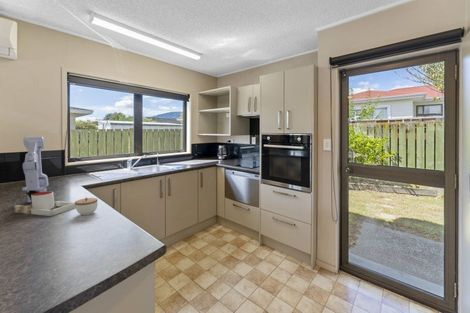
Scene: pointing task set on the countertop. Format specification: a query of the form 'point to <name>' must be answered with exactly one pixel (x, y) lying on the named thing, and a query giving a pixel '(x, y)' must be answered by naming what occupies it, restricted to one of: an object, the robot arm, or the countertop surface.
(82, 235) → the countertop surface
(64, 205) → the dock
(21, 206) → the bay
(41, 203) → the cup
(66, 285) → the countertop surface
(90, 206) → the lidded jar
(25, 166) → the robot arm
